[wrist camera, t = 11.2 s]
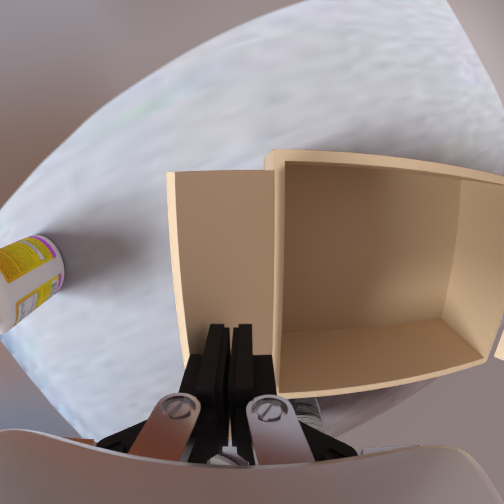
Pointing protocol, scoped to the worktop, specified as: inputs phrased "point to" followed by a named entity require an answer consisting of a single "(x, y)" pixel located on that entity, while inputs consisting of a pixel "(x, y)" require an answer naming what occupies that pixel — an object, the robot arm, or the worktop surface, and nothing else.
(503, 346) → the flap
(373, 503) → the robot arm
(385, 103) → the worktop surface
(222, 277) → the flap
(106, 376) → the worktop surface
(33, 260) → the supplement bottle
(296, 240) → the carton
